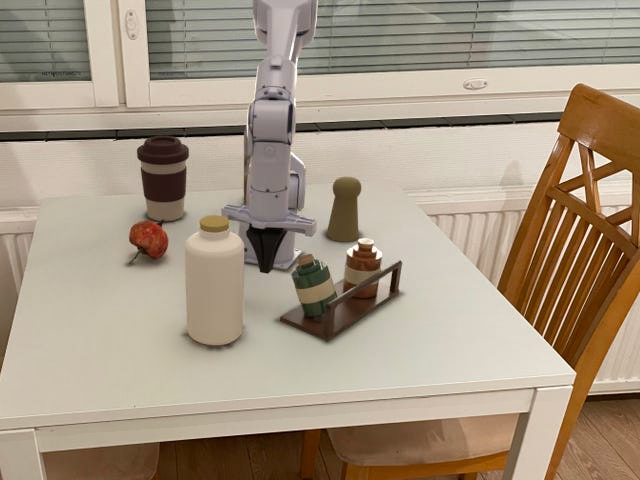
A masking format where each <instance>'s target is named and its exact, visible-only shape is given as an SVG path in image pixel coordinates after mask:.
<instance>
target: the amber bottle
mask: <svg viewBox="0 0 640 480" xmlns="http://www.w3.org/2000/svg"><path fill="white" fill-rule="evenodd" d="M345 256H346V257H345V262H344V271H343V279H344V282H343V291H344V292H347V291H349V290H350V289H352V288H353V287H355V286H357V285H358V284H360V283H362V282H363V281H365V280H367V279H368V278H370V277H371V276H373V275H375V274H376V273H378V272H380V271H381V270H382V264H383V263H382V262H383V256H384V255H383V252H382V251H381V250H379V249H378V248H377V246H375V241H374V240H373V239H371V238H367V237H366V238H364V237H363V238H359V239H358V240H357V244H355V245H354V246H352V247H350V248H348V249H347V250H346V255H345ZM380 281H381V278H380V279H379V280H377V281H376V282H374V283H372V284H371V285H369V286H368V287H366V288H364V289H363V290H361V291H360V292H358V293H356V294H355V295H353V297H358V298H368V297H372V296H375V295H376V294H377V292H378V286H379V283H380Z"/></svg>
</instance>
